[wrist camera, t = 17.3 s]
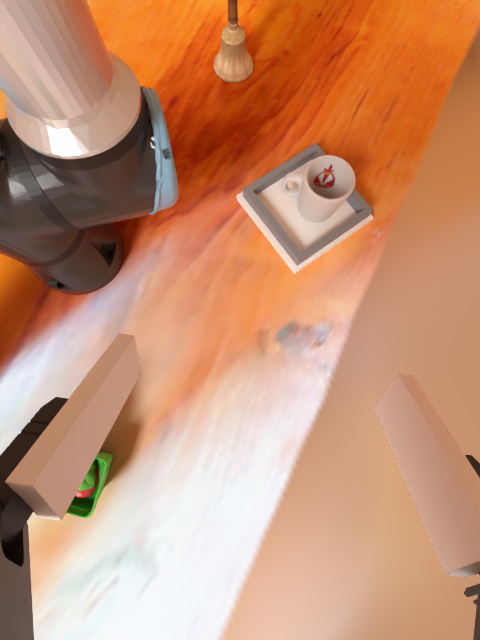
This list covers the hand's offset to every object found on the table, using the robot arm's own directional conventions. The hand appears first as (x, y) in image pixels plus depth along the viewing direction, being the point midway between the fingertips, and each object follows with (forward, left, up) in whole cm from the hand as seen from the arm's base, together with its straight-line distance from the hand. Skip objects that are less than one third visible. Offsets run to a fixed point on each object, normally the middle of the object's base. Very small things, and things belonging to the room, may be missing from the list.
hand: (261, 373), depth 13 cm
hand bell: (-51, +34, -30) cm, 68 cm away
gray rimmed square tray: (-17, +26, -30) cm, 43 cm away
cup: (-16, +26, -29) cm, 42 cm away
